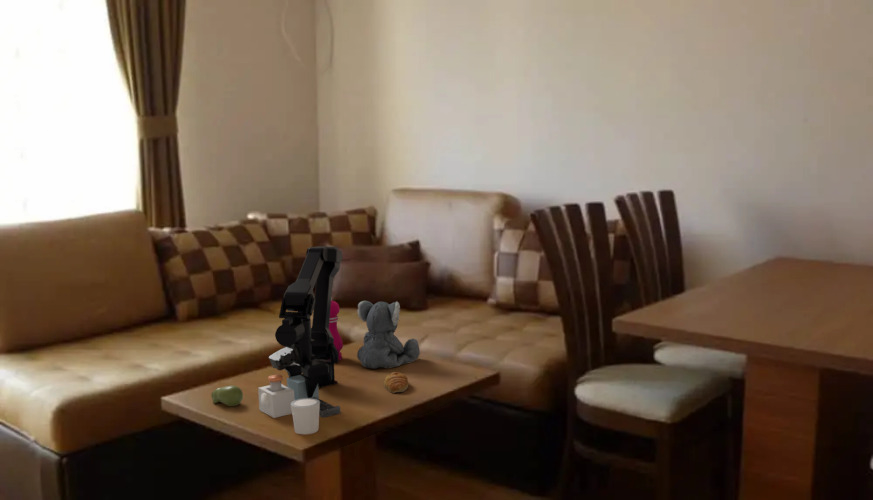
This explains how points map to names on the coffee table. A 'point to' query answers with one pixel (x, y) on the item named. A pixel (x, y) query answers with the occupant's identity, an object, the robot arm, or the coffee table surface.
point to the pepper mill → (335, 327)
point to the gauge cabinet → (275, 401)
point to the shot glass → (305, 415)
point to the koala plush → (384, 337)
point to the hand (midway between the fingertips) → (302, 394)
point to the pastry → (396, 382)
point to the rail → (327, 409)
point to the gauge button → (275, 382)
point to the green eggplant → (228, 395)
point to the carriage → (300, 387)
